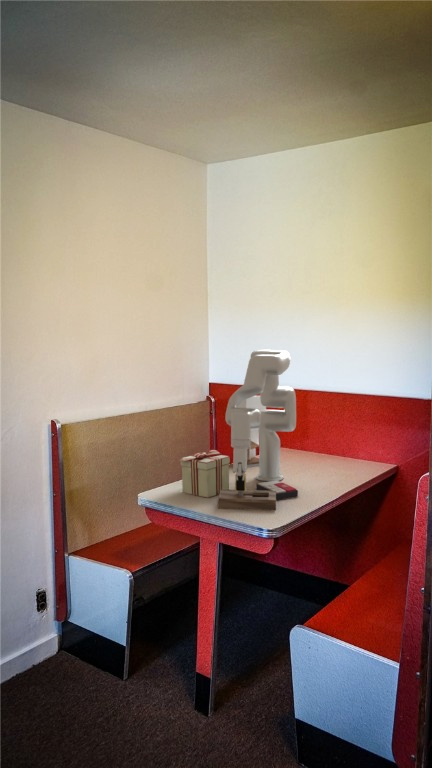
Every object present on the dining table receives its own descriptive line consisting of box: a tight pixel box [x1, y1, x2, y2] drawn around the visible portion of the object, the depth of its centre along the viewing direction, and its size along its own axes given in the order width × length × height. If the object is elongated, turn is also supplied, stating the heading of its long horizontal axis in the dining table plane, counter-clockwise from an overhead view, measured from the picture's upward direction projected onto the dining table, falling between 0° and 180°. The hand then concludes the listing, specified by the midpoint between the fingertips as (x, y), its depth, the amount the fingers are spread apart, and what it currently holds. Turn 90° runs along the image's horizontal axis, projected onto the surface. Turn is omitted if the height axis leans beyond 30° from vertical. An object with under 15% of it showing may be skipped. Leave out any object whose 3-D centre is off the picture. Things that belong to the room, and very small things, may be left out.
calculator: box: [255, 480, 299, 501], centre depth 256 cm, size 11×4×15 cm
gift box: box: [177, 449, 231, 499], centre depth 259 cm, size 17×18×17 cm
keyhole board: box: [217, 489, 277, 511], centre depth 241 cm, size 13×22×4 cm, turn 84°
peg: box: [234, 473, 247, 496], centre depth 241 cm, size 5×5×12 cm
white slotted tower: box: [237, 395, 267, 468], centre depth 309 cm, size 11×11×35 cm
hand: (240, 488), depth 241 cm, fingers closed on peg, 4 cm apart
